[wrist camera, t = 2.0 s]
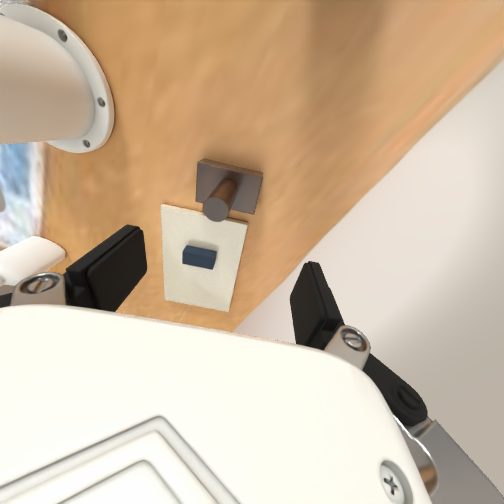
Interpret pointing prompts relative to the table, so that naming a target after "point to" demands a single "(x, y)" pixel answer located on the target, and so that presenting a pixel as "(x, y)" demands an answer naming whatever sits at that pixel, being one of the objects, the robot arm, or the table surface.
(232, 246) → the tile
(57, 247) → the eye dropper bottle
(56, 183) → the table surface
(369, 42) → the table surface
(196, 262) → the eraser
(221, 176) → the handled square plate
